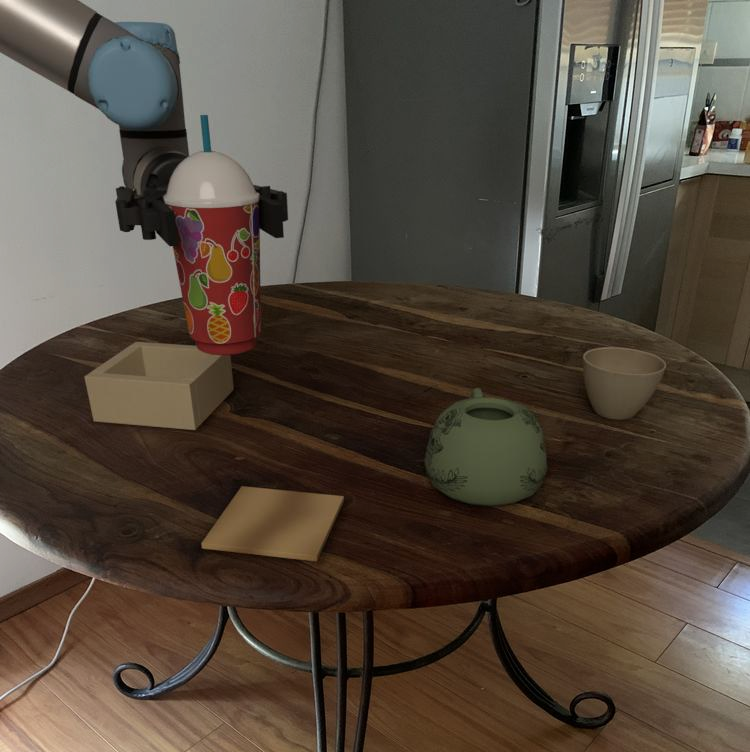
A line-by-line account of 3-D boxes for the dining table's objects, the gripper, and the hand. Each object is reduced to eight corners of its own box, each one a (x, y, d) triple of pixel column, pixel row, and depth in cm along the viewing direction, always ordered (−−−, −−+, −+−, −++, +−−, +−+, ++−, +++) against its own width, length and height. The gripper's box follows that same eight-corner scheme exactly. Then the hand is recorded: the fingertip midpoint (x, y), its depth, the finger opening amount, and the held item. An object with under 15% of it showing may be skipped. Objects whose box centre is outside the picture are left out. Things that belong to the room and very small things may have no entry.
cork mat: (201, 548, 68) (201, 543, 68) (242, 490, 77) (241, 485, 77) (317, 561, 66) (316, 556, 66) (344, 501, 75) (343, 496, 75)
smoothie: (282, 337, 74) (269, 113, 64) (248, 364, 67) (227, 119, 57) (207, 329, 76) (183, 111, 66) (166, 355, 69) (132, 116, 59)
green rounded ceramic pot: (557, 514, 73) (569, 435, 69) (428, 515, 73) (432, 436, 69) (524, 443, 87) (532, 374, 83) (416, 445, 87) (418, 375, 82)
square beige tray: (93, 421, 92) (83, 376, 89) (142, 382, 104) (135, 341, 101) (195, 430, 90) (189, 384, 87) (233, 389, 102) (229, 347, 99)
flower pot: (603, 432, 90) (613, 377, 86) (560, 402, 98) (568, 350, 95) (671, 422, 93) (683, 368, 89) (624, 393, 101) (634, 343, 97)
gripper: (271, 220, 85) (344, 260, 67) (78, 233, 78) (103, 282, 60) (267, 148, 82) (343, 171, 64) (64, 155, 74) (85, 183, 56)
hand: (226, 225), depth 62 cm, fingers closed on smoothie, 8 cm apart
